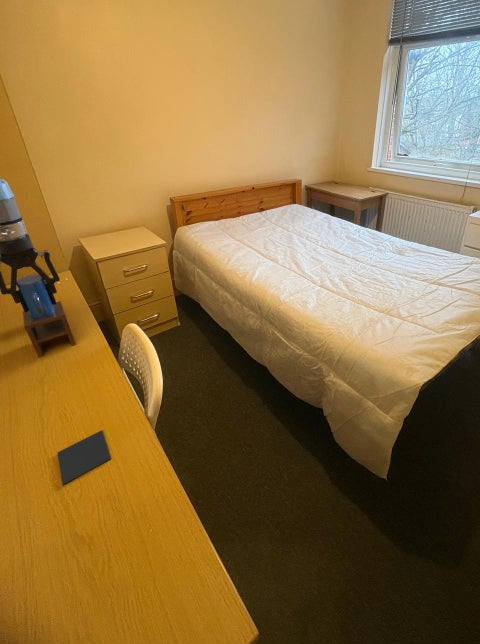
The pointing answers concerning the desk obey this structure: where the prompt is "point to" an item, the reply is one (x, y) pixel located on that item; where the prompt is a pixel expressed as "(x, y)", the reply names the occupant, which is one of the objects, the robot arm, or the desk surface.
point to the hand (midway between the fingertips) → (40, 306)
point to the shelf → (48, 328)
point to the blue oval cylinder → (36, 296)
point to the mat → (83, 457)
